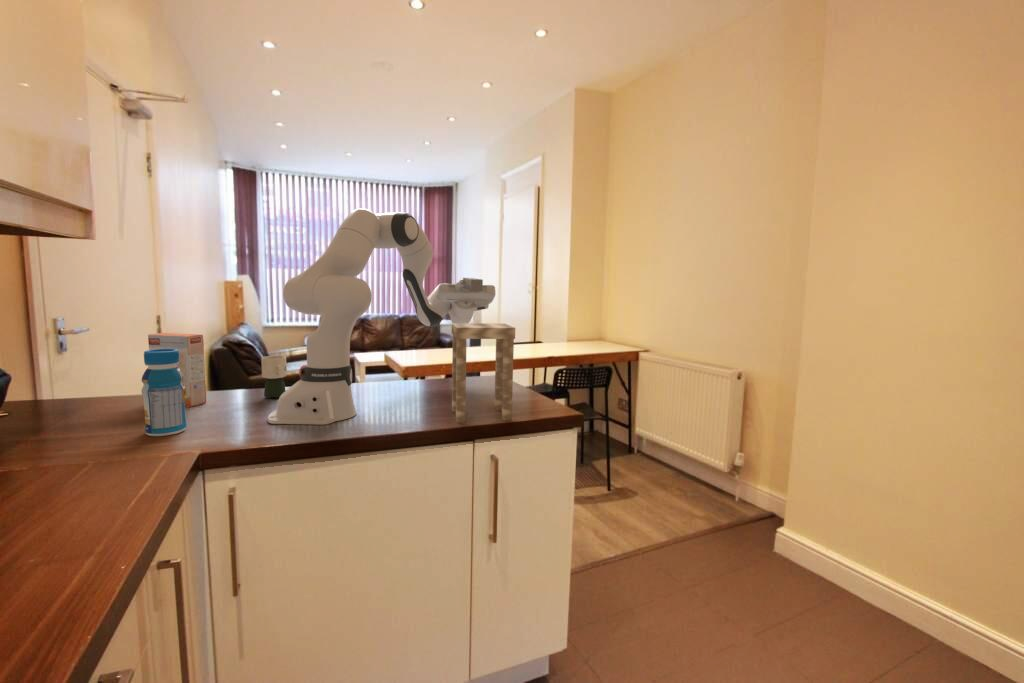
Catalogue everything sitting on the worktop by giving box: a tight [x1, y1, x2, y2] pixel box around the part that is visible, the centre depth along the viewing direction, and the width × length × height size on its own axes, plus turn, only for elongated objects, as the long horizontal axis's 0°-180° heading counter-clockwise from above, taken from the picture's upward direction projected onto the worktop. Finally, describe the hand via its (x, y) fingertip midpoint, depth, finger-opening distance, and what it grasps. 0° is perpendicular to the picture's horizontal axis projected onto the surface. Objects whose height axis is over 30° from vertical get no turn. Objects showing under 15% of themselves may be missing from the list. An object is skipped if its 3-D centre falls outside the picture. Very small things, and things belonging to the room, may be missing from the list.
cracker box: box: [147, 332, 207, 408], centre depth 140 cm, size 14×6×21 cm, turn 77°
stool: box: [451, 322, 516, 424], centre depth 135 cm, size 16×14×26 cm
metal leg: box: [462, 277, 484, 291], centre depth 155 cm, size 4×22×4 cm, turn 13°
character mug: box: [260, 355, 288, 399], centre depth 151 cm, size 11×7×13 cm, turn 44°
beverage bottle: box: [141, 349, 187, 437], centre depth 114 cm, size 8×8×20 cm
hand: (469, 281), depth 162 cm, fingers closed on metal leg, 3 cm apart
